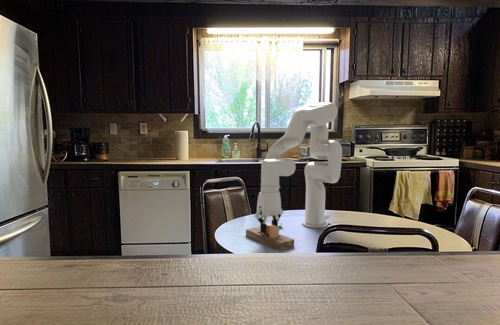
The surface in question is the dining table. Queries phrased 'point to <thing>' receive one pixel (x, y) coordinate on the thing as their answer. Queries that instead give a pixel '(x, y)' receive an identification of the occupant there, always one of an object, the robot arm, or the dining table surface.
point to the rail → (270, 239)
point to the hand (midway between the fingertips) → (269, 230)
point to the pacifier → (278, 223)
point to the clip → (271, 230)
